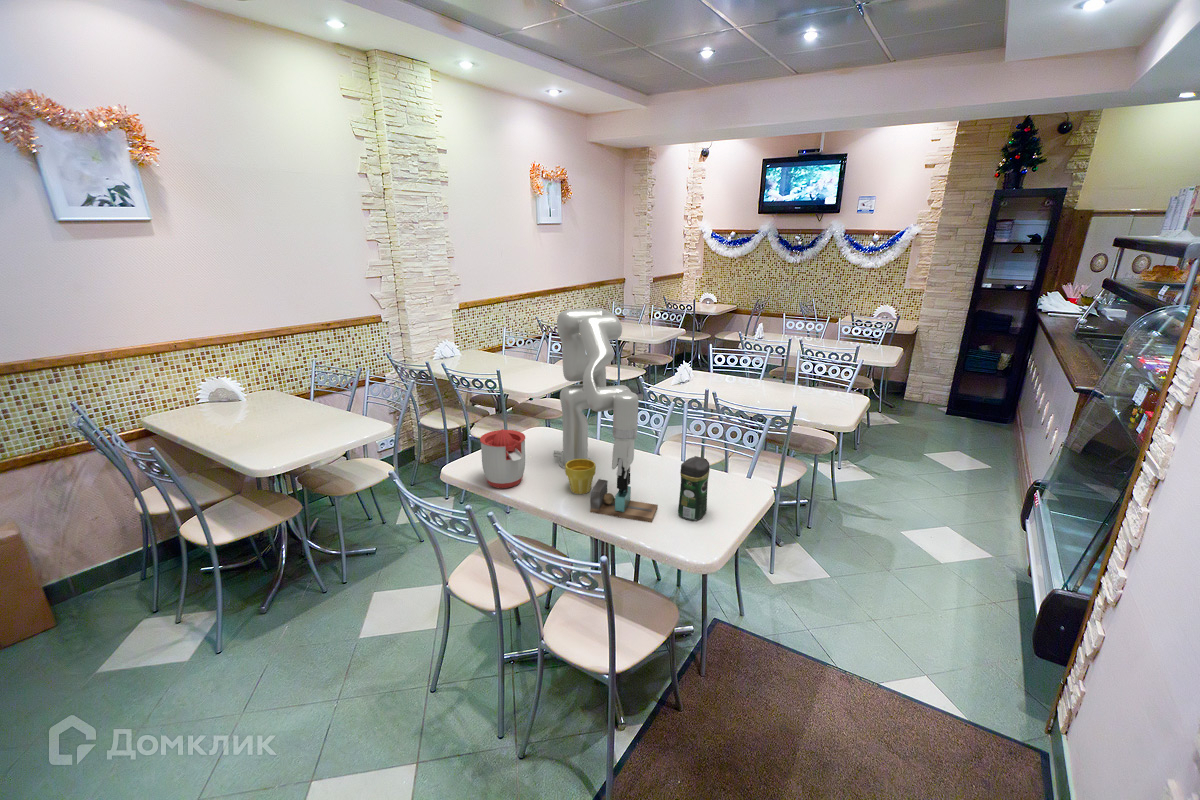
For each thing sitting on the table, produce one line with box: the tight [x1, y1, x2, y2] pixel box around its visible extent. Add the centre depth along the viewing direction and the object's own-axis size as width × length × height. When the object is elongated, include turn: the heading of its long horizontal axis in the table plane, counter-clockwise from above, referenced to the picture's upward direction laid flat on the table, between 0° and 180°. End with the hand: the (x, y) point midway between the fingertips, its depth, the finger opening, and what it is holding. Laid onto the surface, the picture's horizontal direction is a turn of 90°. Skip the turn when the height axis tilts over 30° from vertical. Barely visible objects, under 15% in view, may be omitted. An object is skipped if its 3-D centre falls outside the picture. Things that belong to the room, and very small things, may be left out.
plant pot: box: [564, 459, 596, 495], centre depth 177 cm, size 10×10×10 cm
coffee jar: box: [677, 455, 711, 521], centre depth 161 cm, size 10×8×19 cm
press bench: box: [589, 478, 659, 523], centre depth 164 cm, size 20×9×8 cm, turn 73°
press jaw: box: [614, 467, 632, 512], centre depth 162 cm, size 4×8×16 cm, turn 163°
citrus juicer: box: [479, 428, 526, 490], centre depth 180 cm, size 16×17×20 cm
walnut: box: [603, 492, 615, 504], centre depth 166 cm, size 4×4×4 cm
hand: (623, 485), depth 163 cm, fingers closed on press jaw, 3 cm apart
